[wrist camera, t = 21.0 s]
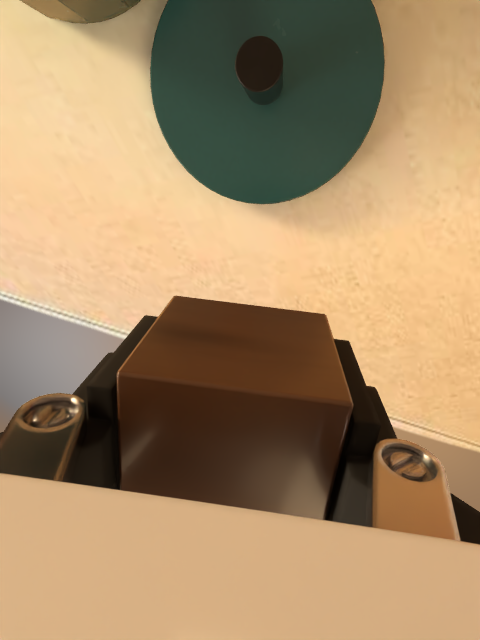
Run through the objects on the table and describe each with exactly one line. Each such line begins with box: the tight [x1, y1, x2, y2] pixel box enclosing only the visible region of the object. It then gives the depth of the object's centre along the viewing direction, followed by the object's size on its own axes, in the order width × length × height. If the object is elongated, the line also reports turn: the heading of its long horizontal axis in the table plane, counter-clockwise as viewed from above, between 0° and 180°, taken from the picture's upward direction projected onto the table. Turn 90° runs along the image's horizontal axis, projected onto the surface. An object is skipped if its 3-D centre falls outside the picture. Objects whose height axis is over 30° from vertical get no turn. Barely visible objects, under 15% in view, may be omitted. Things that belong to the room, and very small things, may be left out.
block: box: [117, 296, 353, 520], centre depth 10 cm, size 4×4×4 cm
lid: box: [150, 0, 385, 204], centre depth 23 cm, size 15×15×7 cm
